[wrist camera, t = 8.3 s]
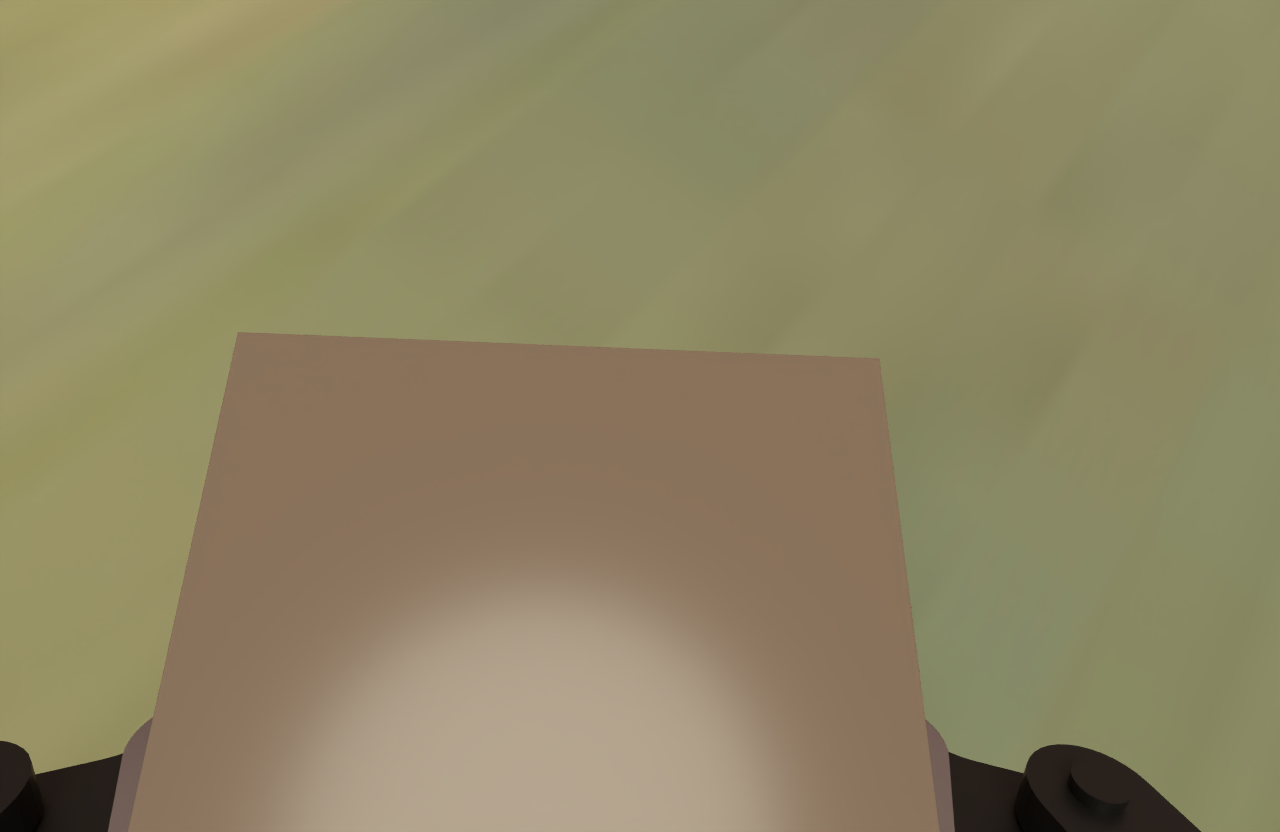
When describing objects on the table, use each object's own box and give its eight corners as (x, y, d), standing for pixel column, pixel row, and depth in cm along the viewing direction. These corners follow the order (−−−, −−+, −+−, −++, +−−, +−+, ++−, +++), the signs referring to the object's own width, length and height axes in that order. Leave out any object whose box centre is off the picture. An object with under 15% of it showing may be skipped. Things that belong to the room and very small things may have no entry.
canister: (405, 886, 14) (49, 1185, 4) (434, 584, 16) (238, 331, 7) (702, 882, 15) (981, 1147, 5) (694, 589, 17) (879, 358, 7)
